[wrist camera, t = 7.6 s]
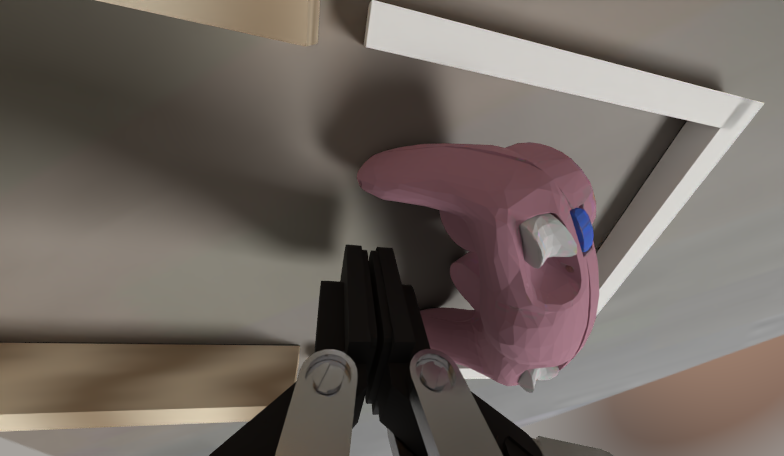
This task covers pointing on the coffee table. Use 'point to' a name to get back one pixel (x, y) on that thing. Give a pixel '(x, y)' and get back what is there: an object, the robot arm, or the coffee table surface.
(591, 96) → the white bay
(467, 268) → the video game controller
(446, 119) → the coffee table surface
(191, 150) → the coffee table surface
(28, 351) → the wooden u-shaped frame
